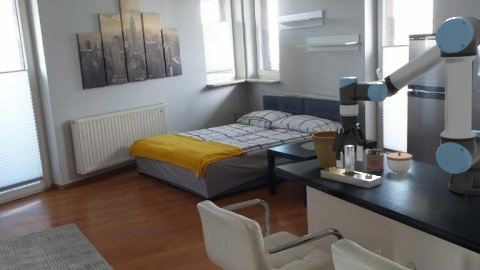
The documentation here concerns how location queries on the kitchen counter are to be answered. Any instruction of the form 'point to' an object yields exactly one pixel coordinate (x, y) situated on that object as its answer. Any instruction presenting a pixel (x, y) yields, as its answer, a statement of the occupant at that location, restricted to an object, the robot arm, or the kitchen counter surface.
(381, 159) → the lighter
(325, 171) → the frame
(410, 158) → the lidded jar
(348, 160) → the pin
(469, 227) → the kitchen counter surface
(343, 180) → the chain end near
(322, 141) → the plant pot
